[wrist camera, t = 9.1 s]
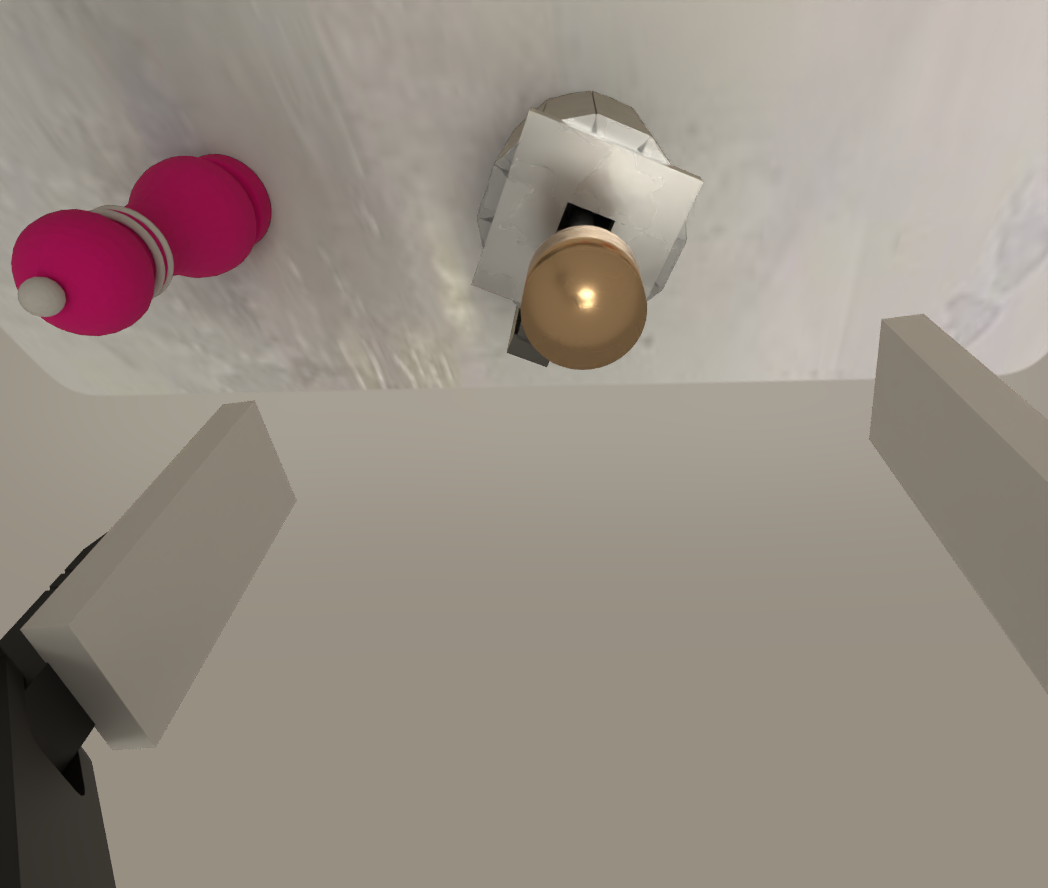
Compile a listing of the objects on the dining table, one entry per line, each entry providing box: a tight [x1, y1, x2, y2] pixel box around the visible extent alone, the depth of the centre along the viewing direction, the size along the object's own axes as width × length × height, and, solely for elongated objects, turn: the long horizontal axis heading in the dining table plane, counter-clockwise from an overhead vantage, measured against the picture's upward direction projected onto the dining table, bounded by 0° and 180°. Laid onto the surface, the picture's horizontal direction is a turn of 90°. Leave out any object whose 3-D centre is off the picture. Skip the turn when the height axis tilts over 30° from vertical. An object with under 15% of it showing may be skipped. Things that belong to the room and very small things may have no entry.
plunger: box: [521, 202, 647, 370], centre depth 33 cm, size 7×7×20 cm
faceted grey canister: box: [471, 91, 703, 367], centre depth 40 cm, size 10×13×14 cm
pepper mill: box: [11, 154, 271, 336], centre depth 39 cm, size 7×7×20 cm
